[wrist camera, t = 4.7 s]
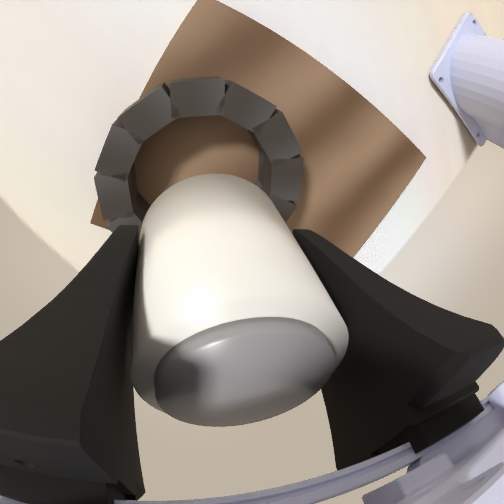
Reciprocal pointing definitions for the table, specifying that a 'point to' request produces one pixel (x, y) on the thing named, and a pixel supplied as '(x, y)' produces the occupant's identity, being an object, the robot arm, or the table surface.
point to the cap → (228, 308)
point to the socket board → (312, 112)
